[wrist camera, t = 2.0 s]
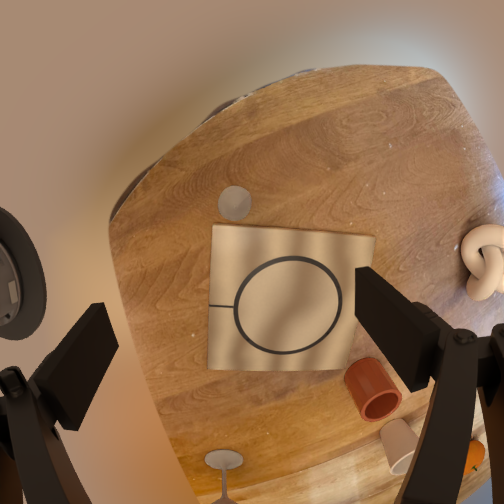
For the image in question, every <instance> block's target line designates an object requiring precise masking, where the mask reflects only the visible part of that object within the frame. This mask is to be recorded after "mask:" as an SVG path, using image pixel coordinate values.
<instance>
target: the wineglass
mask: <svg viewBox="0 0 504 504" xmlns="http://www.w3.org/2000/svg"><path fill="white" fill-rule="evenodd" d="M205 462H206V464H208V465H209V466H211V467H213V468H216V469H222V497H221V498H220V499H218V500H217V501H215V502H213V503H212V504H238V503H236V502H234V501H233V500H231V499H229V498H228V496H227V488H226V469H233V468H236V467H238V466H240V465H241V464H242V462H243V457H242V455H240V454H239V453H238V452H235V451H232V450H226V449H220V450H214V451H211V452H209V453H208V454H207V455H206V456H205Z"/></svg>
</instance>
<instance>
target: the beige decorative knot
mask: <svg viewBox="0 0 504 504" xmlns="http://www.w3.org/2000/svg"><path fill="white" fill-rule="evenodd" d="M479 248H481V249H482V253H483V256H484V258H483V257H482V256H481V255H480V254H479V252H478V249H479ZM461 255H462V259H463V261H464V263H465V265H466V267H467V268H468V269H469V271H470V272H471V275H470V277H469V279H468V281H467V285H466V289H467V294H468V296H469V297H470V298H471V299H472V300H474V301H481V300H485V299H487V298H488V297H490V296H491V295H492V294H493V293H494V291H497V292H499V293H502V294H504V273H503V272H504V226H501V225H496V224H487V225H481V226H479V227H476V228H474V229H473V230H471V231H470V232H469V233H468V234H467V235H466V236H465V237H464V239H463V241H462V244H461Z"/></svg>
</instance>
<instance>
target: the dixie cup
mask: <svg viewBox="0 0 504 504" xmlns="http://www.w3.org/2000/svg"><path fill="white" fill-rule="evenodd" d="M380 437H381V440H382V443H383V446H384V449H385V453H386V456H387V459H388V463H389V466H390V473H391V474H392V475H401V474H404V473H407V471H408V468H409V466H410V463H411V460H412V458H413V455H414V452H415V449H416V447H417V444H418V441H419V437H418V436H417V435H416V434H415V433H414V432H413V430H412V429H411V428H410V427H409V426H408V424H407V423H406V422H405V421H404V420H403V419H394V420H392V421H390V422H388V423H387V424H386V425H384V426H383V427H382V429H381V430H380Z"/></svg>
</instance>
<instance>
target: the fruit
mask: <svg viewBox="0 0 504 504" xmlns="http://www.w3.org/2000/svg"><path fill="white" fill-rule="evenodd" d="M484 455H485V448H484V445H483V444H482V443H481V442H480V441H478V440H472V441H470V445H469V450H468V455H467V460H466V465H465V469H464V474H463V475H466V474H469V473H470V472H472V471H473V470H476V471H477V469H476V468H477V467H478V466H479V465H480V464H481V463H482V461H483V459H484Z"/></svg>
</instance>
